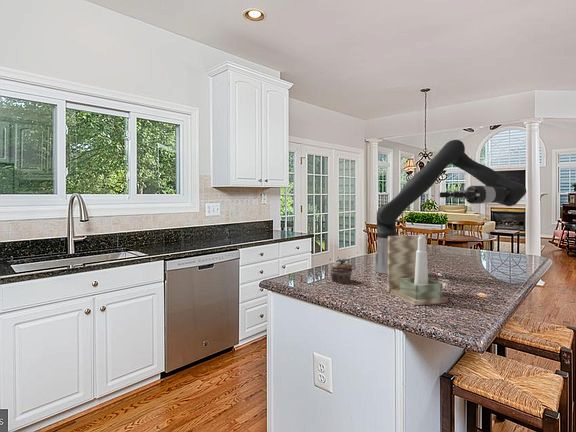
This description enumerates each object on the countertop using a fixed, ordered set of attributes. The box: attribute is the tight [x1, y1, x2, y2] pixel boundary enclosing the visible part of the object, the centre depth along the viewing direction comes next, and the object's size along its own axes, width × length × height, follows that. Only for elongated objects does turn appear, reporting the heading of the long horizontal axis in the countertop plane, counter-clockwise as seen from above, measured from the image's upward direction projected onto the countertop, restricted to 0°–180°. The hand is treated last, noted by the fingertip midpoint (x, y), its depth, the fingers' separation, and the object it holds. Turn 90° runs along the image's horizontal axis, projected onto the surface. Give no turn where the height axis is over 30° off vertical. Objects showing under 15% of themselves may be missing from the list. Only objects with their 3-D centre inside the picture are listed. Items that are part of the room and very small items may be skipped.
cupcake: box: [329, 258, 353, 284], centre depth 159 cm, size 10×10×10 cm
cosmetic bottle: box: [414, 234, 429, 285], centre depth 131 cm, size 6×6×22 cm
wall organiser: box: [386, 234, 448, 306], centre depth 134 cm, size 16×18×22 cm
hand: (446, 194), depth 148 cm, fingers open, 8 cm apart
